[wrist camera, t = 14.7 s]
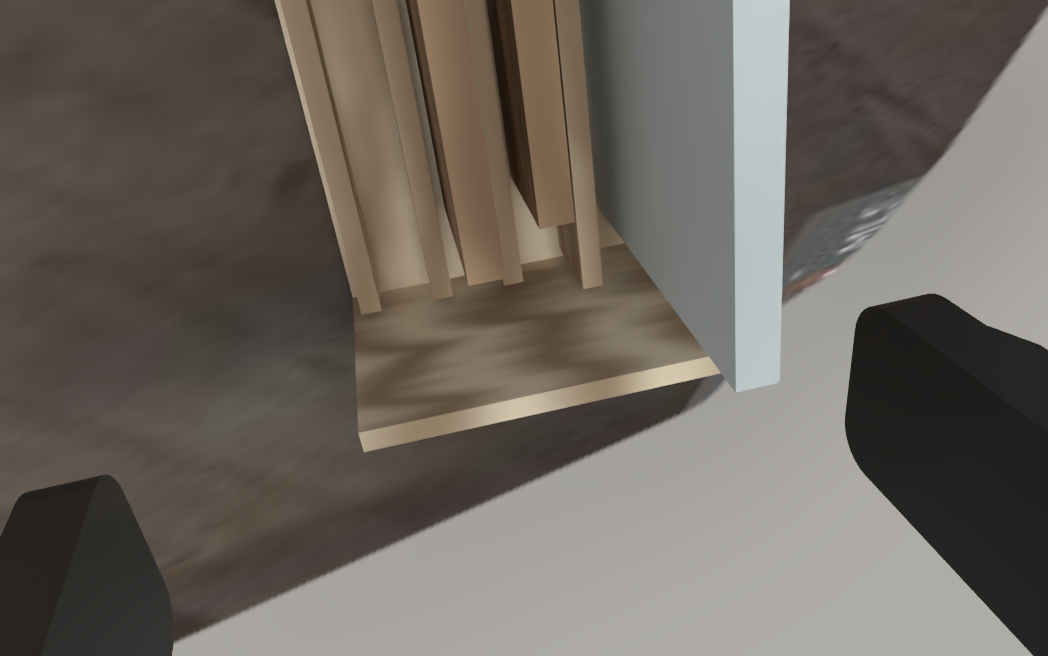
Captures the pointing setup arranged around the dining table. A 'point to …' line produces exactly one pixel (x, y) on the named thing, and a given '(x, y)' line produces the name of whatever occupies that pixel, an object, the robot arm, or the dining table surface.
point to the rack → (431, 254)
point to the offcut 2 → (532, 106)
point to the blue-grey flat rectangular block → (697, 161)
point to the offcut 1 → (457, 134)
